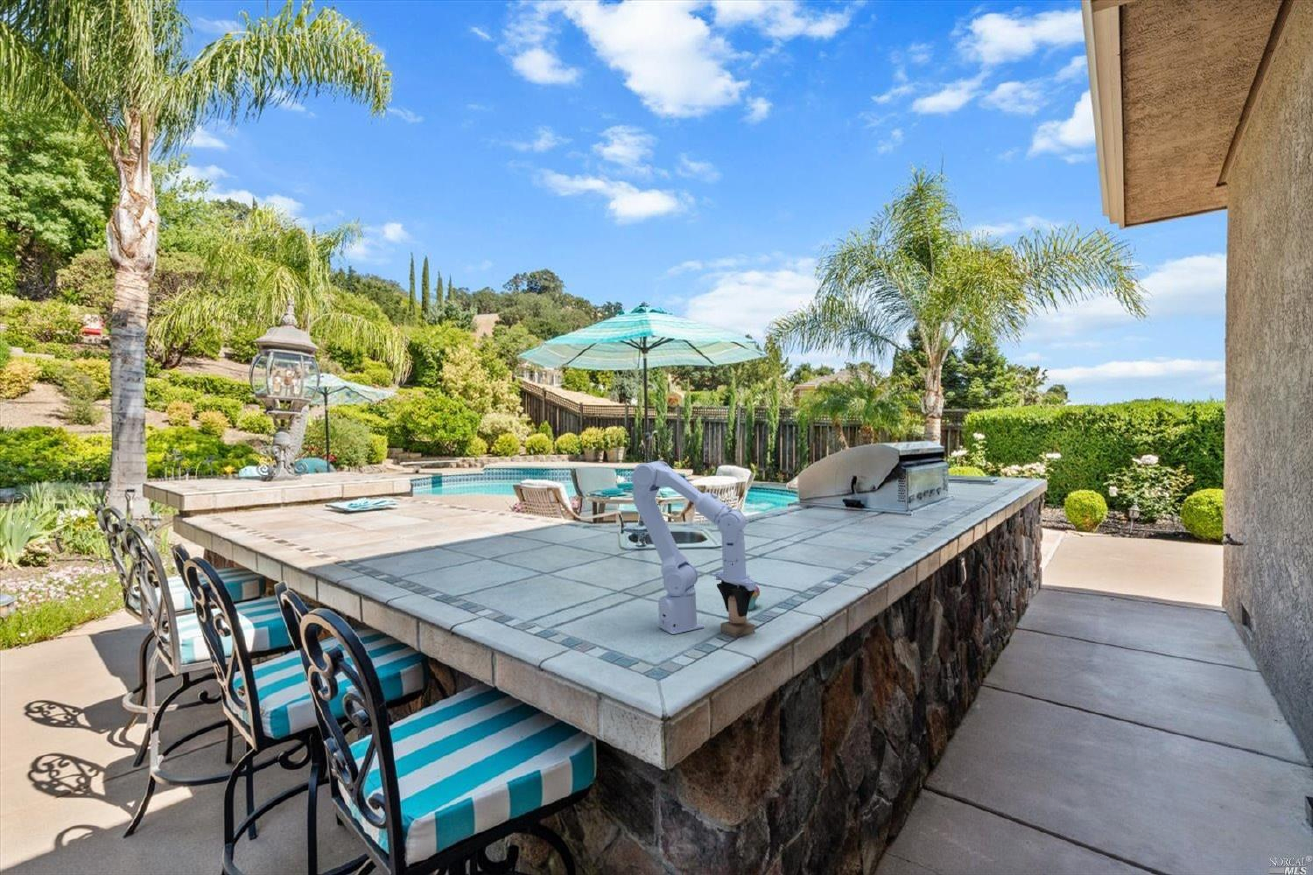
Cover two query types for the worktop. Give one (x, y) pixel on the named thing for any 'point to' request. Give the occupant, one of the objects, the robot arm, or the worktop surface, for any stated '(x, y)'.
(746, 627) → the base
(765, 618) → the worktop surface
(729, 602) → the jar
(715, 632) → the worktop surface
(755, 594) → the cupcake
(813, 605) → the worktop surface
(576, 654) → the worktop surface
